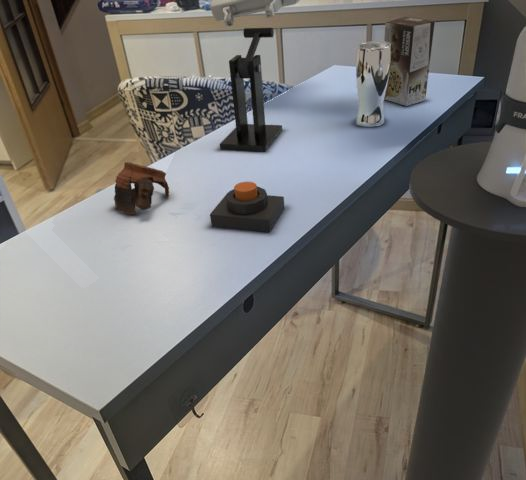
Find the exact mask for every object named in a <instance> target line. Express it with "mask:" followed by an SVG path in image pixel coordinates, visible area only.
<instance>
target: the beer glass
mask: <svg viewBox="0 0 526 480" xmlns="http://www.w3.org/2000/svg"><path fill="white" fill-rule="evenodd" d="M355 63H356V65H355V80H356V82H355V83H356V90H357V98H358V109H357V114H356V119H355V124H356V125H358V126H360V127H364V128H374V127H379V126H381V125H383V124H384V123H385V115H384V105H385V99H384V98H385V94H386V90H387V86H388V81H389V76H390V68H391V43H389V42H385V41H384V40H371V41H365V42H362V43H359V44H358V45H357V54H356V62H355Z"/></svg>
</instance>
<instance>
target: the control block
mask: <svg viewBox="0 0 526 480" xmlns="http://www.w3.org/2000/svg"><path fill="white" fill-rule="evenodd" d="M257 194H258V196H257V198H255V199H253V200H248V201H240V200H237V199H236V198H235V191H234V188H233V189H231V190H229V191H228V192H227V193H226V194H225V195H224V196H223V198H222V199H221V200H220V201H219V202H218V204H217V205H216V206H215V208H213V210H212V211H211V212H210V213H209V218H210V224H211V227H214V228H215V227H216V228H225V229H236V230H243V231H244V230H245V231H254V232H265V233H271V231H272V230H273V228H274V227H275V225H276V224H277V221H279V218H280V217H281V215H282V214H283V211H284V210H285V197H284V196H282V195H281V196H280V195H268V192H267V191H266V189H265V188H263V187H261V186H258V185H257Z"/></svg>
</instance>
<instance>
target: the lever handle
mask: <svg viewBox="0 0 526 480" xmlns="http://www.w3.org/2000/svg"><path fill="white" fill-rule="evenodd" d="M242 34H243V37H244V38H245V39H252V40H251V41H250V45H249V47H248V50H247V53H246V56H245V57H241V59H240V62H239V64H238V67H237V69H238V73H239V76H240V78H243V79H250V75H249V64H248V61H249V60H250V59H251V58H253V57H254V56H255V55H256V51H257V49H258V46H259V43H260V41H261V38H264V39H265V38H266V39H267V38H274V35H275V29H274V27H244V28H243V33H242Z"/></svg>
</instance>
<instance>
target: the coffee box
mask: <svg viewBox="0 0 526 480" xmlns="http://www.w3.org/2000/svg"><path fill="white" fill-rule="evenodd" d="M435 23H436V20H432V19H425V18H418V17H411V16H403V17H399V18H395V19H393V20H389V21H385V23H384V24H385V25H384V40H383V41H385V42H389V43H391V68H390V76H389V81H388V86H387V90H386V94H385V98H384V101H388V102H391V103H395V104H398V105H402V106H405V107H408V106H412V105H415V104H418V103H423V102H425V101H426V98H427V91H428V82H429V72H430V64H431V57H432V48H433V39H434V32H435Z"/></svg>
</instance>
